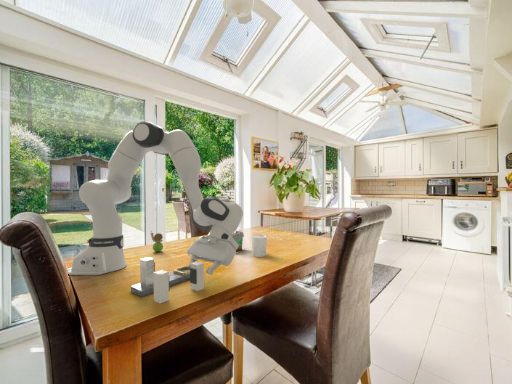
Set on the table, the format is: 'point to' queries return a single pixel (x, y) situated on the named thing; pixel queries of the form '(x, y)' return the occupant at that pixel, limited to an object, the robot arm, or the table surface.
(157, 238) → the snail figurine
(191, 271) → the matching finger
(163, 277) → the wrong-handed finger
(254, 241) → the white cup
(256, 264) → the table surface
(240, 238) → the food container
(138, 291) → the rail
